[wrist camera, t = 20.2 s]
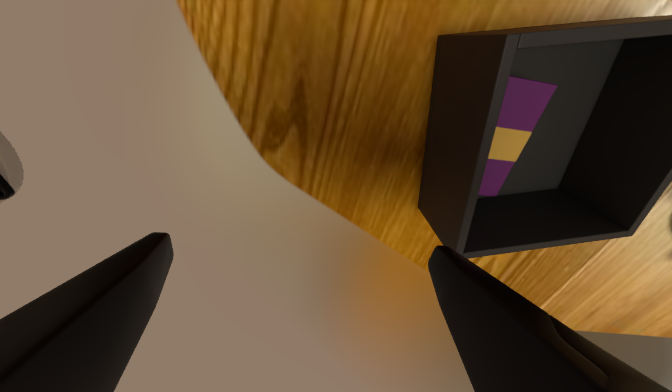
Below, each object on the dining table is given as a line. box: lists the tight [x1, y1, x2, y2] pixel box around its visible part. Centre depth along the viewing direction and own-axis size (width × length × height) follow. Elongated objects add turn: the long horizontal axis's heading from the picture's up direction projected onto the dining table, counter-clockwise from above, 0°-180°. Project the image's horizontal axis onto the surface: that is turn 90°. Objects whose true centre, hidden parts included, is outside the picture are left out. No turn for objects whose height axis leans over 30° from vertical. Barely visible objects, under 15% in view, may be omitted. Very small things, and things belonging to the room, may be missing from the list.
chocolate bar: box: [478, 76, 558, 196], centre depth 18 cm, size 8×4×2 cm, turn 171°
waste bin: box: [418, 15, 672, 259], centre depth 17 cm, size 13×13×6 cm
